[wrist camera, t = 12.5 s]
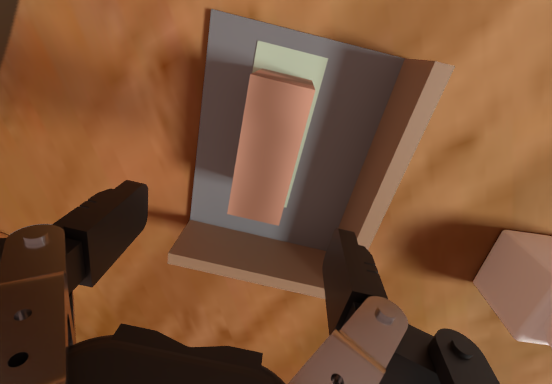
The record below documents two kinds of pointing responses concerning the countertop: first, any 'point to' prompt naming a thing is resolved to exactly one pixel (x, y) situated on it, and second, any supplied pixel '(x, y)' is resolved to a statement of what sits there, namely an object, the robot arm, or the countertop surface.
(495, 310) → the medicine bottle
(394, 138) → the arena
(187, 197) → the countertop surface
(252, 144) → the block
